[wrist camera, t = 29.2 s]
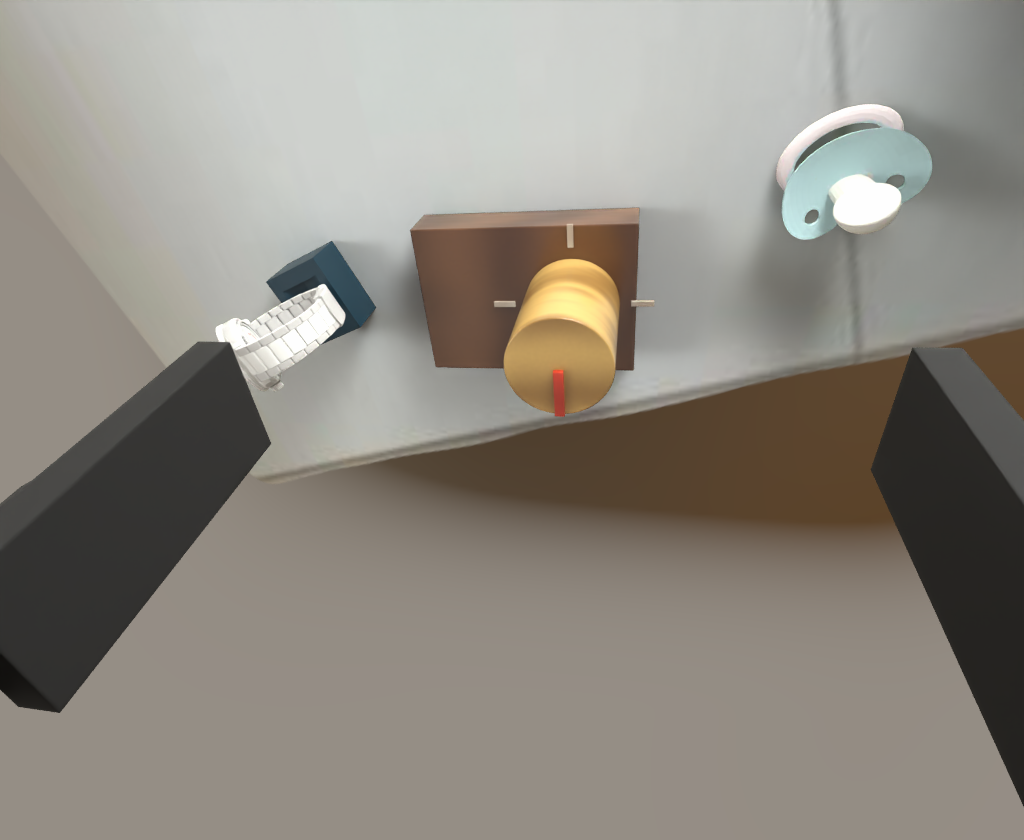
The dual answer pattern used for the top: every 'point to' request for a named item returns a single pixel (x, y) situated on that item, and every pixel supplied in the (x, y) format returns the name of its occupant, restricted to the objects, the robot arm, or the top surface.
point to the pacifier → (851, 173)
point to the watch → (298, 316)
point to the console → (515, 274)
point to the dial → (565, 338)
